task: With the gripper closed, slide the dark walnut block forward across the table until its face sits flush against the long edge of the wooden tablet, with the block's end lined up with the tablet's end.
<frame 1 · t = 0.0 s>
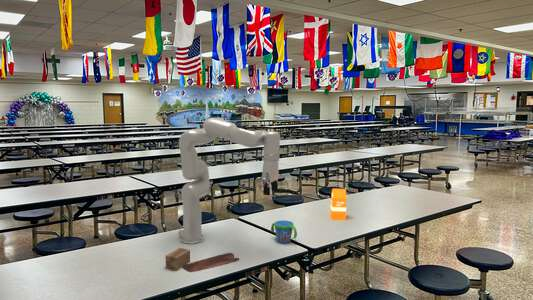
hand: (270, 192, 173), 31 cm above the table, tool pointing down, fingers open, 9 cm apart
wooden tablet: (210, 264, 167), on the table
orange juice: (337, 218, 237), on the table
walnut block: (178, 265, 164), on the table
snack cup: (283, 241, 195), on the table
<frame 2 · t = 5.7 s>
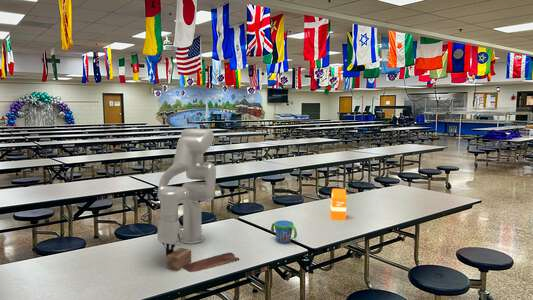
hand: (169, 256, 165), 3 cm above the table, tool pointing down, fingers closed
walnut block: (179, 265, 163), on the table, touching gripper
everything else where it was.
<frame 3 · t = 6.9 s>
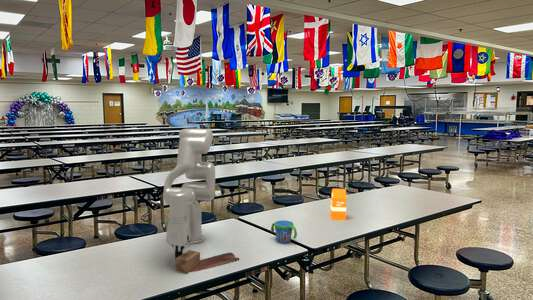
hand: (178, 258, 163), 3 cm above the table, tool pointing down, fingers closed
walnut block: (188, 267, 161), on the table
everything else where it was.
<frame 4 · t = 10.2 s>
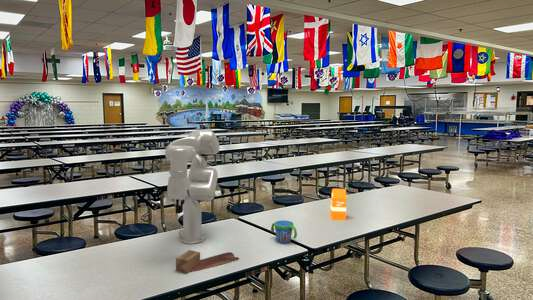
hand: (179, 212, 168), 22 cm above the table, tool pointing down, fingers closed
nothing on the table moved.
at the end: walnut block 0.7 cm from the target spot on the table beside the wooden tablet, point 0.7 cm above the table; walnut block tilted 0°; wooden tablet moved 1.0 cm from its start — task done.
